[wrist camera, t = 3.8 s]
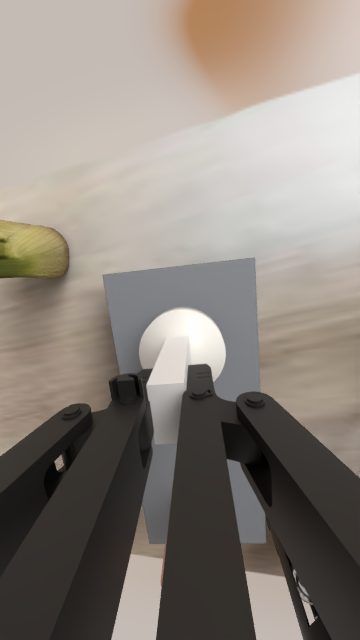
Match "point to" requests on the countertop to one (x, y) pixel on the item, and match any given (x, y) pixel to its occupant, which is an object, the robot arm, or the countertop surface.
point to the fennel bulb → (32, 251)
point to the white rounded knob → (185, 323)
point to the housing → (236, 378)
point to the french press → (299, 596)
